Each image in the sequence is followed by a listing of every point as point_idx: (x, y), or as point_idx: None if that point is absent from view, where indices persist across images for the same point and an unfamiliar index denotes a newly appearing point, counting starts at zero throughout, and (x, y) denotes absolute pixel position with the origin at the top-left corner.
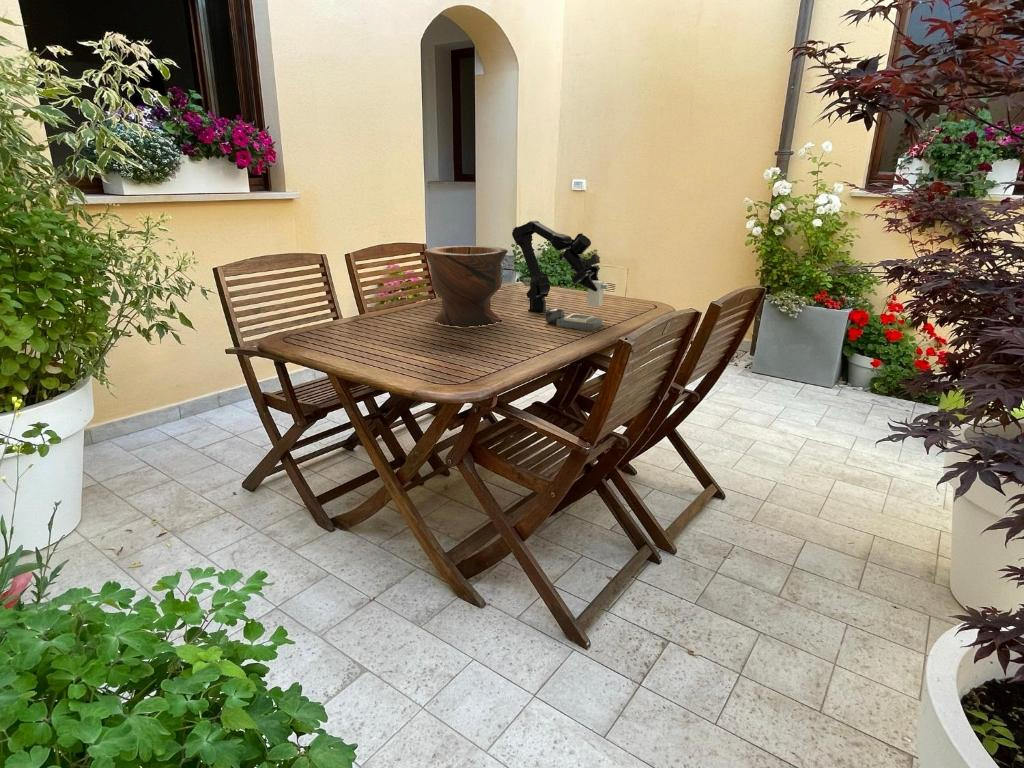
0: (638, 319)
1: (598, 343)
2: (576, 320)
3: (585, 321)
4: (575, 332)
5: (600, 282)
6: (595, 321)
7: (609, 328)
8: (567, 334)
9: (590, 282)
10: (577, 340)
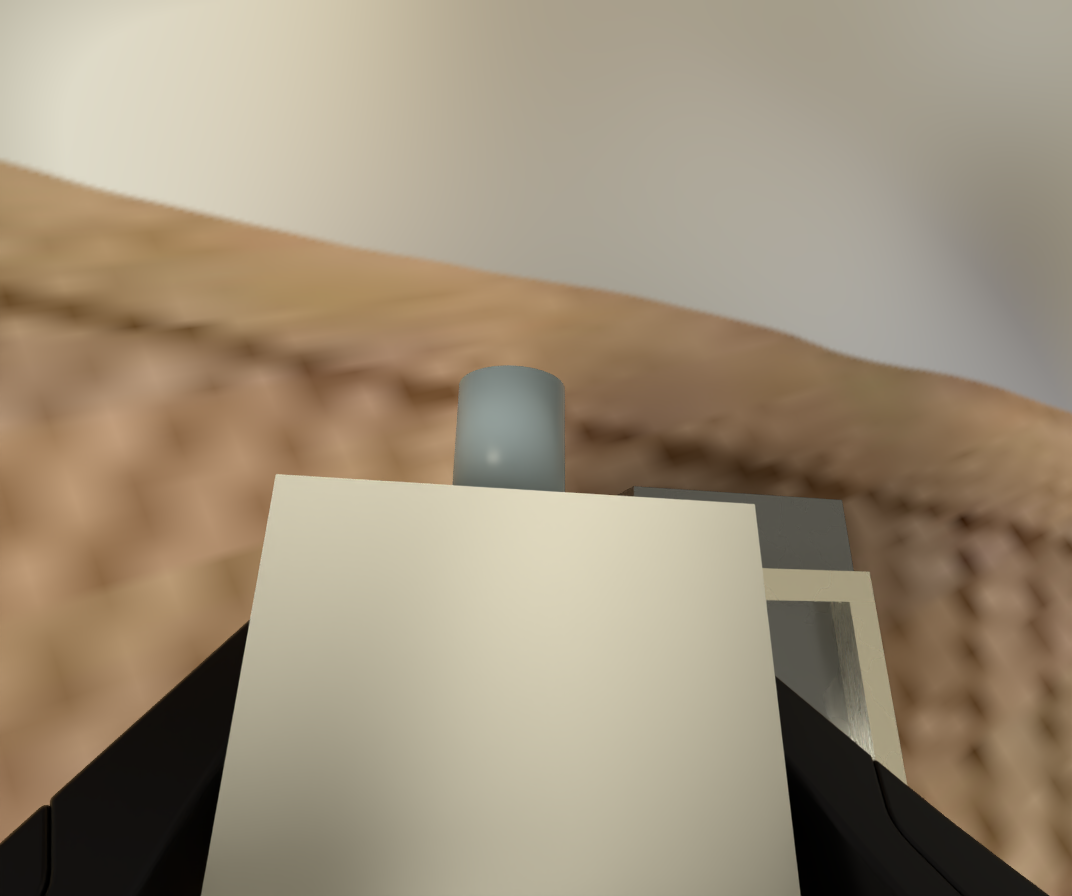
0: (210, 266)
1: (999, 392)
2: (878, 679)
3: (862, 578)
4: (896, 627)
5: (679, 500)
6: (757, 512)
7: (649, 422)
8: (974, 660)
9: (948, 862)
10: (1035, 529)
